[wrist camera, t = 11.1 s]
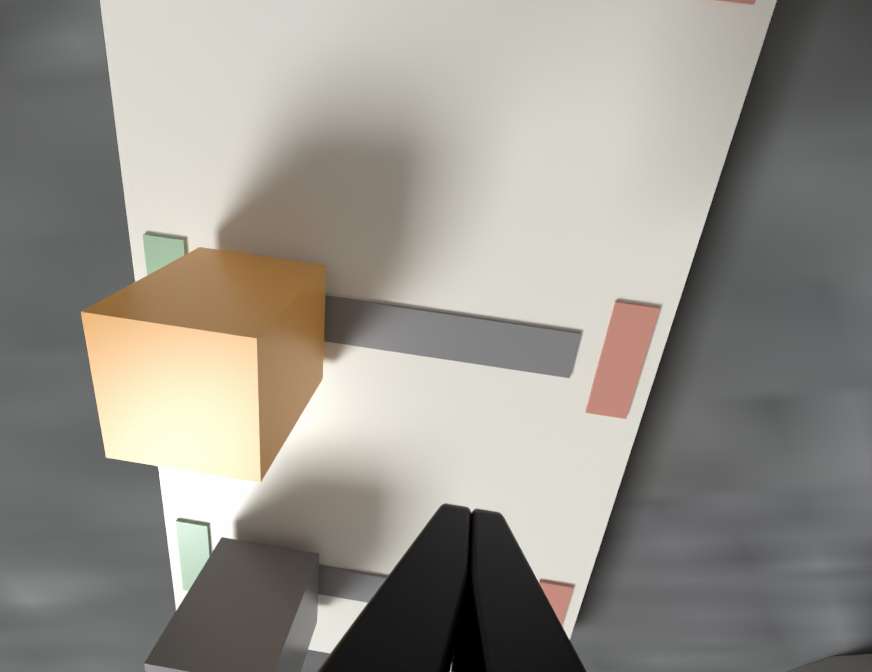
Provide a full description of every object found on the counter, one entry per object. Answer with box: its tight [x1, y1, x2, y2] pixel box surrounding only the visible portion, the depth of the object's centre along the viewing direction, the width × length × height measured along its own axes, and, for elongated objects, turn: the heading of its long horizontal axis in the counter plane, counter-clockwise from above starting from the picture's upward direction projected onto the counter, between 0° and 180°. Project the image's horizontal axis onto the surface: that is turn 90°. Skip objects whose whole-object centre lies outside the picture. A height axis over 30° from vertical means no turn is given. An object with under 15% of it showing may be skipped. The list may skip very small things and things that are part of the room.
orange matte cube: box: [81, 247, 326, 483], centre depth 12 cm, size 3×3×4 cm
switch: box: [144, 537, 319, 672], centre depth 15 cm, size 3×3×4 cm
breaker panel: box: [100, 0, 777, 672], centre depth 14 cm, size 13×25×2 cm, turn 173°
